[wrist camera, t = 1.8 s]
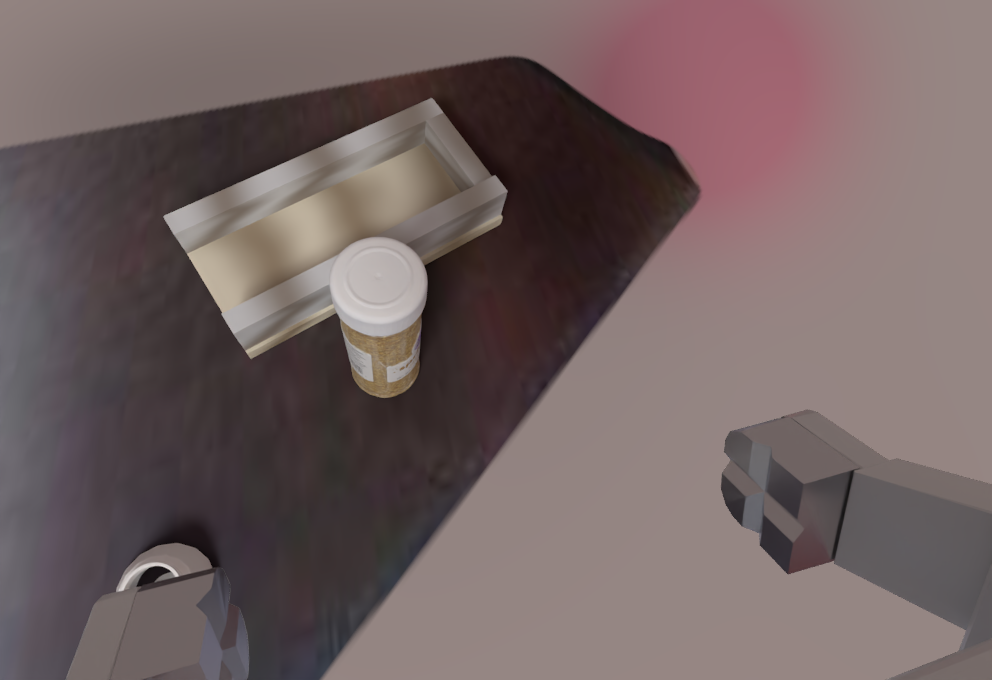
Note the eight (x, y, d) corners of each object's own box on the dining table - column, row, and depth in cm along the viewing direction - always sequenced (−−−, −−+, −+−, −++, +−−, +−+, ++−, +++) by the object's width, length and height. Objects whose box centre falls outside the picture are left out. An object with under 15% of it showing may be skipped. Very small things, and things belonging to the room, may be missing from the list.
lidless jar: (147, 534, 35) (104, 626, 33) (126, 531, 33) (78, 631, 31) (231, 557, 35) (194, 650, 34) (217, 556, 33) (175, 658, 31)
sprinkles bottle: (423, 394, 40) (433, 317, 28) (352, 402, 39) (331, 327, 27) (415, 330, 42) (422, 229, 29) (347, 337, 41) (324, 236, 28)
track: (250, 359, 39) (235, 337, 36) (179, 240, 41) (158, 209, 38) (500, 224, 46) (509, 193, 42) (428, 127, 48) (430, 90, 44)
